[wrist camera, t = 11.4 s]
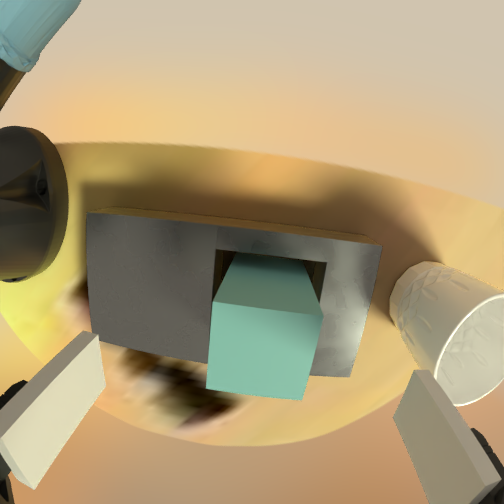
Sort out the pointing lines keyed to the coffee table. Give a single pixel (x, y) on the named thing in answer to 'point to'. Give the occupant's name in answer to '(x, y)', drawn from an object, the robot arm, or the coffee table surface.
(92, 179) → the coffee table surface
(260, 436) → the coffee table surface
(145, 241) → the grey slotted board
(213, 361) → the teal block
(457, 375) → the white cup
